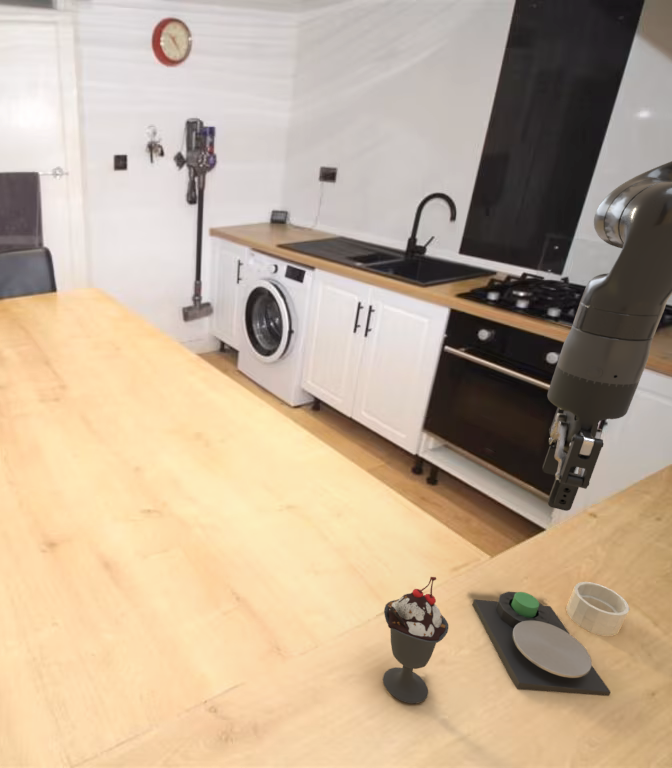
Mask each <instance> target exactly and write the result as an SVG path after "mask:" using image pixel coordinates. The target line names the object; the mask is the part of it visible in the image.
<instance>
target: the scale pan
mask: <svg viewBox="0 0 672 768" xmlns="http://www.w3.org/2000/svg"><path fill="white" fill-rule="evenodd" d="M512 636H513V640H514V643H515V645H516V646H517V648H518V649H519V651H520V652H521V653H522V654H523V655H524V656H525V657H526V658H527V659H528V660H530V661H531V662H532V663H534V664H535V665H537V666H538V667H540V668H542V669H544V670H546V671H548V672H550V673H552V674H555V675H558V676H562V677H568V678H578V677H582V676H585V675H586V674H588V672H589V671H590V669H591V665H592V664H593V663H592V658H591V655H590V653H589V652H588V650H587V649H586V648H585V646H584V645H583V644H582V643H581V642H580V641H579V640H578V639H577V638H575V637H574V636H573V635H572V634H570V633H569V634H568V633H567V632H565V631H564V630H562V629H560V628H558V627H556V626H553V625H551V624H548V623H544V622H540V621H532V620H529V621H522V622H520V623H518V624H517V625H516V626H515V627H514V629H513V634H512ZM592 666H593V665H592Z"/></svg>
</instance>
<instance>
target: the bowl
mask: <svg viewBox="0 0 672 768" xmlns="http://www.w3.org/2000/svg"><path fill="white" fill-rule="evenodd" d="M565 609H566V614H567V615H568V617H569V619H571V621H572V622H574V623H575V624H576V625H577V626H578V627H580V628H581V629H584V630H585V631H587V632H589V633H591V634H594V635H598V636H603V637H612V636H613V637H614V636H615V635H618V634H619V632H620V631H621V628H623V627H622V626H623V624H624V623H625V621H626V618H627V617H628V614H629V612H630V610H631V609H630V606H629V603H628V602H627V600H626V599H624V597H623V596H622V595H621V594H619V593H617V591H615V590H614V589H611V588H609V587H608V586H605V585H602V584H599V583H596V582H592V581H581V582H577V583H576V584H575V585H574V586H573V590H572V591H571V594H570V597H569V599H568V602H567V604H566V608H565Z"/></svg>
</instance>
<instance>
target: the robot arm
mask: <svg viewBox="0 0 672 768" xmlns="http://www.w3.org/2000/svg"><path fill="white" fill-rule="evenodd" d="M593 227H594V231H595V233H596V234H597V236H598V237H599V238H600V240H602V241H603V242H604V243H606V244H607V245H610V246H612V247H615V248H619V249H621V250H620V252H619V254H618V257H617V258H616V260H615V262H614V264H613V265H612V267H611V269H610V271H609V272H606V273H601V274H598V275H596V276H594V277H592V278H591V279H590V280H589V281H588V283H587V284H586V286H585V288H584V291H583V293H582V296H581V298H580V301H579V304H578V308H577V310H576V313H575V317H574V319H573V322H572V325H571V328H570V330H569V332H568V334H567V336H566V338H565V340H564V342H563V345H562V347H561V351H560V354H559V356H558V359H557V363H556V366H555V368H554V373H553V375H552V378H551V381H550V384H549V388H548V391H547V393H546V394H547V395H546V396H547V400H548V401H549V402H550V403H551V404H552V405H553V406H555V407H556V411H555V414H554V416H553V419H552V422H551V425H550V427H549V428H548V432H549V434H548V435H549V436H550V437H549V438H548V445H549V447H548V449H547V452H546V456H545V459H544V461H543V464H542V472H543V473H545V474H547V475H551V476H554V477H555V478H554V480H553V484H552V487H551V490H550V493H549V496H548V499H547V504H548V506H549V507H550V508H553V509H557V510H561V511H565V512H568V511H570V510H571V509H572V507H573V504H574V502H575V498H576V496H577V493H578V491H579V488H580V489H585V490H587V488H588V487H589V486H590V481H591V480H592V479H591V478H592V476H593V473H594V470H595V467H596V465H597V461H598V459H599V457H600V453H601V451H602V448H603V447H604V445H605V444H604V439H601V438H602V433H603V432H602V429H601V428H599V423H600V422H601V421H605V420H618V419H621V418H623V417H625V416H626V415H627V414H628V411H629V409H630V407H631V404H632V401H633V398H634V396H635V393H636V391H637V389H638V386H639V384H640V381H641V378H642V376H643V373H644V371H645V369H646V366H647V364H648V361H649V357H650V353H651V348H652V343H653V341H654V337H655V334H656V331H657V329H658V327H659V324H660V322H661V319H662V317H663V314H664V311H665V308H666V305H667V303H668V300H669V299H670V298H671V296H672V160H670V161H668V162H666V163H663V164H661V165H659V166H657V167H653V168H651V169H650V170H647V171H645V172H643V173H640V174H638V175H636V176H634V177H632V178H630V179H628V180H627V181H625V182H623V183H621V184H620V185H619V186H617V187H615V189H613V190H612V191H611V192H610V193H608V195H607V196H605V197H604V199H602V201H601V202H600V204H599V205H598V206H597V208H596V211H595V214H594V217H593ZM574 467H575V468H578V469H577V473H575V472H571V468H574Z"/></svg>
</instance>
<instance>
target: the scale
mask: <svg viewBox="0 0 672 768" xmlns="http://www.w3.org/2000/svg"><path fill="white" fill-rule="evenodd" d="M517 592H518V591H506V592H504V593H501V594H500V595H499V597H498V600H486V599H473V601H472V607H473V609H474V611H475V613H476V615H477V617H478V619H479V621H480V622H481V624H482V626H483V628H484V630H485V633H486V634H487V636H488V638H489V640H490V642H491V644H492V646H493V648H494V650H495V652H496V654H497V656H498V657H499V660H500V662H501V663H502V665H503V668H504V669H505V671H506V673H507V674H508V676H509V678H510V680H511V681H512V684H513V685H514V687H515V689H516V690H523V691H524V690H525V691H538V692H551V693H563V694H564V693H565V694H578V695H579V694H580V695H591V696H607V697H609V696H610V695H611V690H610V689H609V688H608V686H607V684H606V683H605V681H603V679H602V678H601V676H600V675H599V673H598V672H597V670H596V668H594V665H591V669H590V671H589V672H588V674H586V675H585V676H582V677H578V678H568V677H562V676H558V675H555V674H552V673H550V672H548V671H546V670H544V669H542V668H540V667H538V666H537V665H535V664H534V663H532V662H531V661H530V660H528V659H527V658H526V657H525V656H524V655H523V654H522V653H521V652H520V651H519V649H518V648H517V646H516V645H515V643H514V640H513V636H512V634H513V629H514V627H515V626H516V625H517V624H518V623H520V622H522V621H529V620H532V621H540V622H544V623H548V624H551V625H553V626H556V627H558V628H560V629H562V630H564V631H565V632H567V633H568V634H570V632H569V630H568V629H567V628H566V626H565V624H563V622H562V621H561V619H560V618H559V617H558V615H557V614H556V612H555V611H554V609H553V608H552V606H550V605H544V604H542V603H541V602H539V607H538V610H537V612H536V615H535V616H534V617H532V618H528V617H524V616H522V615H519V614H518V613H516V612H515V611H514V610H513V609H512V607H511V604H512V601H513V598H514V595H515V593H517Z"/></svg>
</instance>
